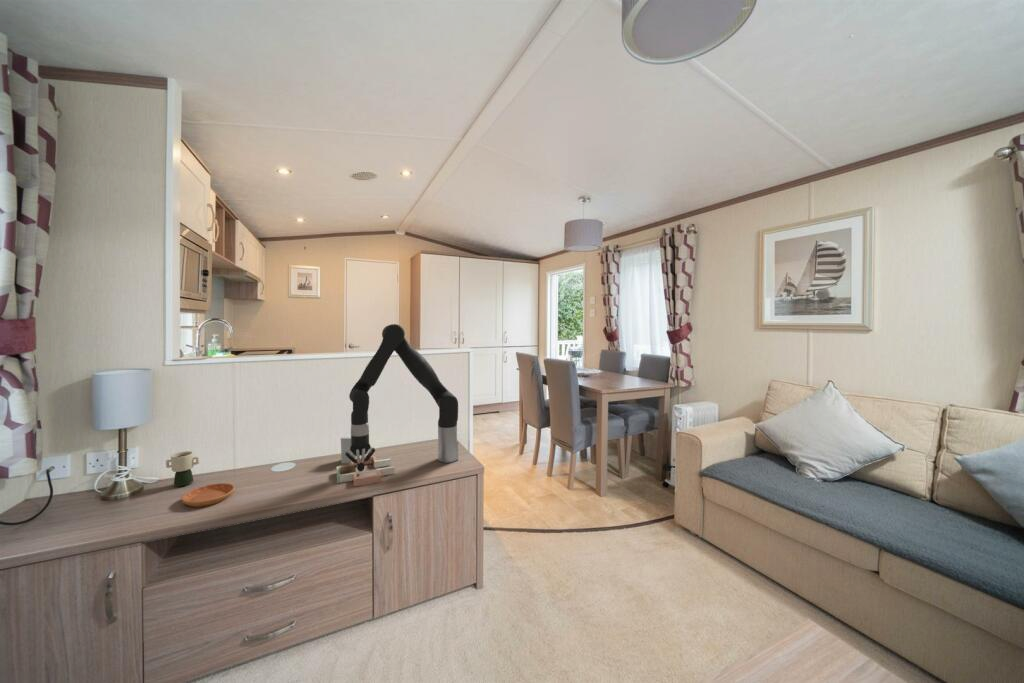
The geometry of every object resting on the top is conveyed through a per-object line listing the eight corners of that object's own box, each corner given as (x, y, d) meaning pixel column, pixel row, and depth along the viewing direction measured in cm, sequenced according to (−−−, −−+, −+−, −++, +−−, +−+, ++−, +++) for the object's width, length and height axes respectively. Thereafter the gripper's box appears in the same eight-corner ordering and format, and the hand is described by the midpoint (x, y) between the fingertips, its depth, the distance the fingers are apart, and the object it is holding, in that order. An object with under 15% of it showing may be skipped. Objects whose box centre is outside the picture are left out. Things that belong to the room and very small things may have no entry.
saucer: (242, 488, 158) (241, 481, 157) (221, 507, 142) (221, 499, 142) (197, 491, 154) (197, 484, 154) (171, 511, 138) (171, 503, 138)
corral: (389, 459, 189) (388, 453, 188) (396, 479, 167) (396, 472, 167) (336, 467, 178) (336, 461, 178) (337, 489, 157) (337, 482, 156)
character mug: (202, 478, 165) (201, 449, 164) (197, 485, 159) (195, 455, 158) (170, 483, 161) (169, 453, 160) (163, 490, 154) (161, 459, 154)
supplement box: (363, 458, 190) (362, 433, 189) (355, 464, 183) (355, 438, 182) (348, 457, 191) (348, 433, 190) (340, 463, 184) (340, 437, 183)
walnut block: (355, 472, 173) (354, 463, 173) (356, 478, 168) (355, 468, 168) (340, 475, 171) (340, 465, 170) (341, 480, 165) (340, 470, 165)
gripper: (374, 428, 177) (375, 465, 178) (343, 432, 171) (344, 470, 172) (376, 433, 170) (377, 471, 171) (344, 437, 164) (345, 476, 165)
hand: (360, 470), depth 172 cm, fingers closed
